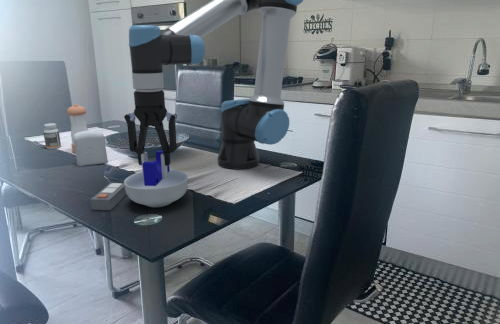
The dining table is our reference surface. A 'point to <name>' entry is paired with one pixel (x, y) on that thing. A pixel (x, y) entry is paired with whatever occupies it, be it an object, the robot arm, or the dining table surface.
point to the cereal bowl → (157, 189)
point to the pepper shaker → (77, 121)
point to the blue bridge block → (153, 171)
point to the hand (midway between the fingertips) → (155, 176)
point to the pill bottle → (51, 136)
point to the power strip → (108, 197)
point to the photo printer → (90, 147)
